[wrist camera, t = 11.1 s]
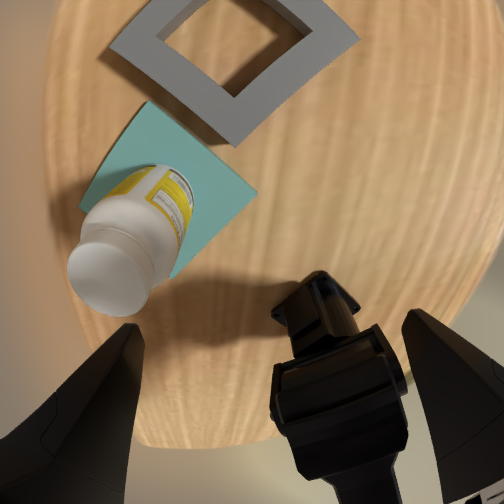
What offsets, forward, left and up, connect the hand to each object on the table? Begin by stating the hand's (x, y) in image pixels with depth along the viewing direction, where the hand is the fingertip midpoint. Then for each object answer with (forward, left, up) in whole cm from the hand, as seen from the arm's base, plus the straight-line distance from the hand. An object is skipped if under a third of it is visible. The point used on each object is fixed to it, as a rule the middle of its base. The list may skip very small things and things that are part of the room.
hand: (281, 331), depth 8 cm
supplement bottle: (+5, +5, -13) cm, 15 cm away
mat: (+5, +5, -13) cm, 15 cm away
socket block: (+9, -7, -13) cm, 17 cm away
